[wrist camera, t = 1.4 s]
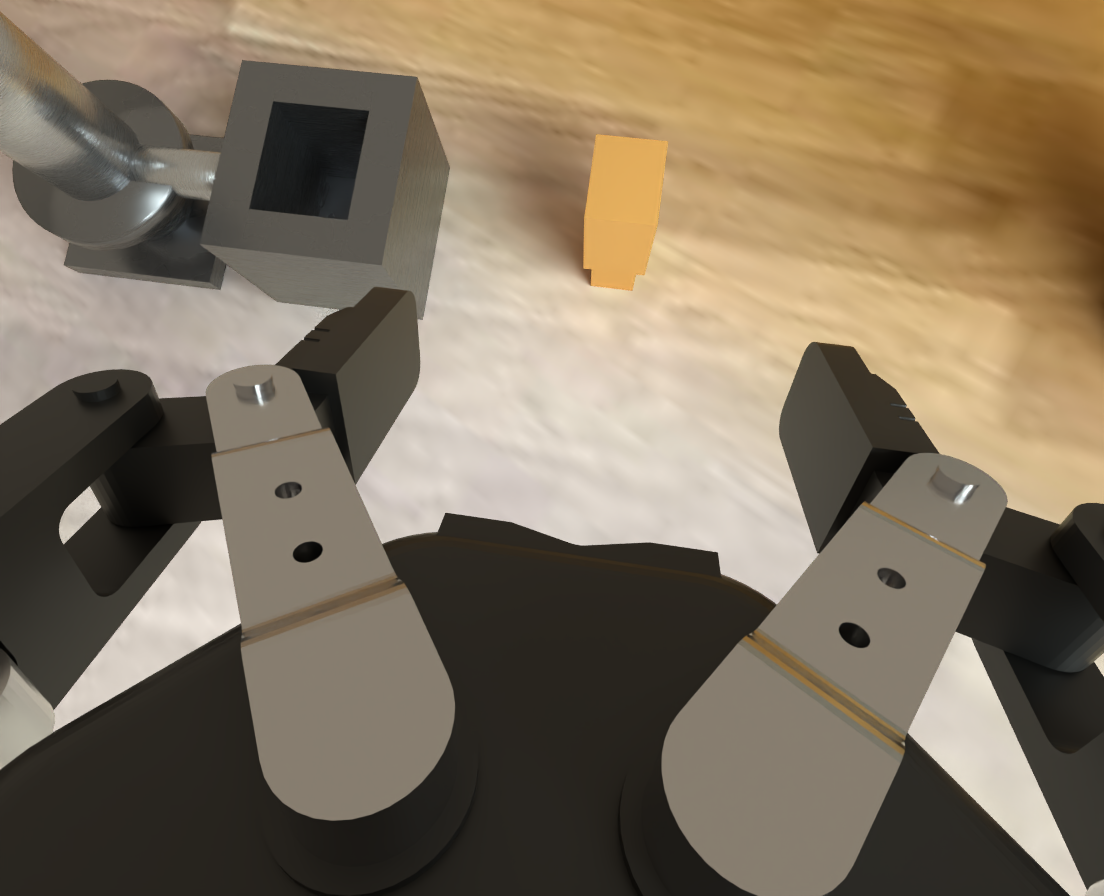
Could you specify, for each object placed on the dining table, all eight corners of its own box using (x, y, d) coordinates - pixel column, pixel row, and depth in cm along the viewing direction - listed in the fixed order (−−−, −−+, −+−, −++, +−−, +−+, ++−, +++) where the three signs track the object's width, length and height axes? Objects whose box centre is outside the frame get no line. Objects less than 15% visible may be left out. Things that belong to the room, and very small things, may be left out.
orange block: (646, 232, 33) (667, 141, 25) (638, 297, 33) (657, 225, 25) (592, 226, 33) (596, 134, 26) (583, 291, 33) (584, 217, 25)
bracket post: (449, 167, 34) (311, -218, 17) (422, 319, 33) (241, 81, 15) (115, 132, 36) (-347, -259, 18) (77, 277, 35) (-457, 13, 17)
